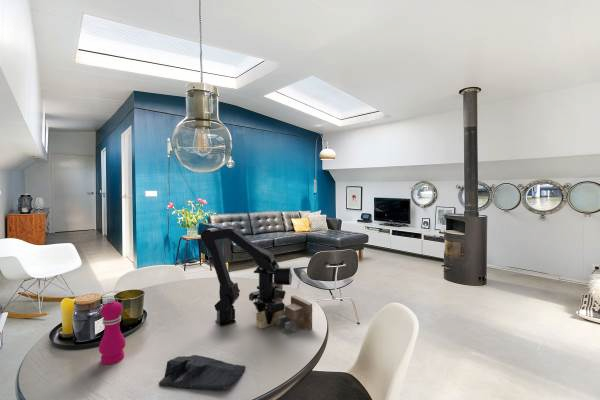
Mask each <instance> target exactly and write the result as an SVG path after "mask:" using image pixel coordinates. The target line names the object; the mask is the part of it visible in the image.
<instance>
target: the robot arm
mask: <svg viewBox="0 0 600 400" xmlns="http://www.w3.org/2000/svg"><path fill="white" fill-rule="evenodd" d="M223 239H229V240H230V241H232V242H233V243H234V244H235V245H236V246H238V247H239V248H240V249H242V250H243V251H244V252H245V253H247V254H248V255H249V256H250V257H251V258H252V260H253V262H254V263H255V264H256V265H257V267H256V269H255V270H253V273H254V274H258V285H257V286H256V290H257V291H252V292H250V293H249V294H248V300H249V301H251V302H253V304H252V305H254V306H255V309H256V310H257V313H259V312H262V311H264V313H265V317H266V320H267V323H268V324H271V321H272V318H273V315H274V313H275V312H278V311H282V310H284V309H285V306H286V305H285V303H284V302H281V301H279V300H276V301H272V300H273V299H274V300H275V299H277V298H282V299H283V300H284V299H285V295H286V292H287V291H286V290H284V289H283V288H282V289H279V288H278V286H277V285H283V286H291V285H292V281H293V274H292V273H293V272H292V270H291V269H292V268H291V267H288V266H287V267H280V265H279V264H278V262H277V261H276V259H275V255H274V253H272V252H271V251H269V250H268V249H266V248H262V247H259V246H258V245H256V244H255V243H254V242H253V241H251V240H250V239H249V238H247V237H246V236H245V235H243V234H242V233H240V232H239V231H238V230H237V229H236V228H235V227H233V226H231V227H227V228H219V229H218V228H216V227H211V228H207V229H205V230H203V231H202V232H201V234H200V240H201V241H202V242H201V243H202V244H203V246H204V247H205V248H206V249H207V250H208V252H209V254H210V257H211V260H212V264H213V267H214V270H215V273H216V277H217V280H218V284H219V293H218V295H219V300H218V301H217V302H216V303H215V304H214V309H215V311H216V318H215V319H214V320H215V322H216V323H217V324H218V325H219V326H220V327H223V326H226V325H229V324H234V323H236V321H237V320H236V309H235V306H234V304H235V303H236V301H237V300H238V299H239V297H240V292H241V290H240V289H239V285H238V284H239V283H238V282H233V281H232V279H231V276H230V272H229V270H228V269H229V268H228V266H227V262H226V259H225V257H224V254H223V251H222V240H223ZM273 282H275V283H276V284H277V285H273Z"/></svg>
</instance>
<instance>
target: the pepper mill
mask: <svg viewBox="0 0 600 400" xmlns="http://www.w3.org/2000/svg"><path fill="white" fill-rule="evenodd" d="M107 301H108V302H107V303H104V304H103V306H101V309H100V316H101V317H102V324H103V325H104V332H103V336H102V337H101V340H100V341H99V345H98V352H99V353H100V355H101V356H100V363H101V364H102V365H104V366H105V365H106V366H107V365H113V364H116V363H119V362H120V361H122V360H123V359H124V358H125V350H124V348H125V347H126V338H125V337H124V335H123V333H122V331H121V328H120V322H121V320H122V315H121V314H122V313H123V310H124V308H123V305H122V303H121V302H119V301H116V299H115V298H114V297H109V299H108V300H107Z"/></svg>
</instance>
